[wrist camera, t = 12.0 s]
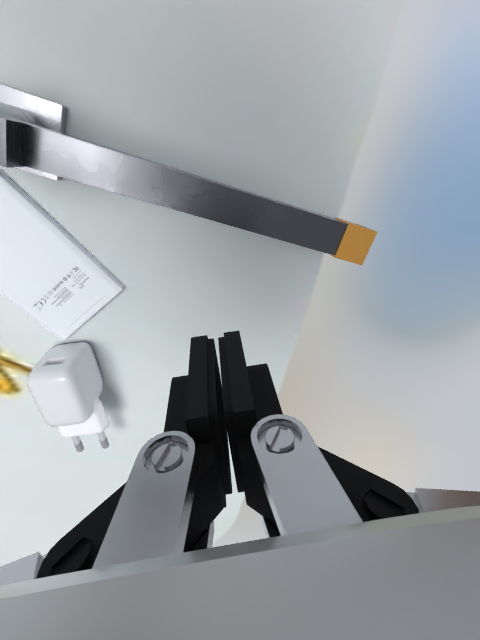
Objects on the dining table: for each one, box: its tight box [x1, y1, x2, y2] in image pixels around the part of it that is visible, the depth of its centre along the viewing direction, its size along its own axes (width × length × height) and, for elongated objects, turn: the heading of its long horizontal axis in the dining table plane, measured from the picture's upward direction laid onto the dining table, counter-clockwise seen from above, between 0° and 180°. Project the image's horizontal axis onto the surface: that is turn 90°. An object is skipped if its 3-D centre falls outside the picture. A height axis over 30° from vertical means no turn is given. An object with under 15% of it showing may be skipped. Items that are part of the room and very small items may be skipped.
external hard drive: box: [0, 170, 124, 342], centre depth 27 cm, size 2×8×12 cm
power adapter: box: [27, 342, 110, 452], centre depth 31 cm, size 11×5×6 cm, turn 5°
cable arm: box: [0, 114, 377, 265], centre depth 18 cm, size 26×4×4 cm, turn 74°
